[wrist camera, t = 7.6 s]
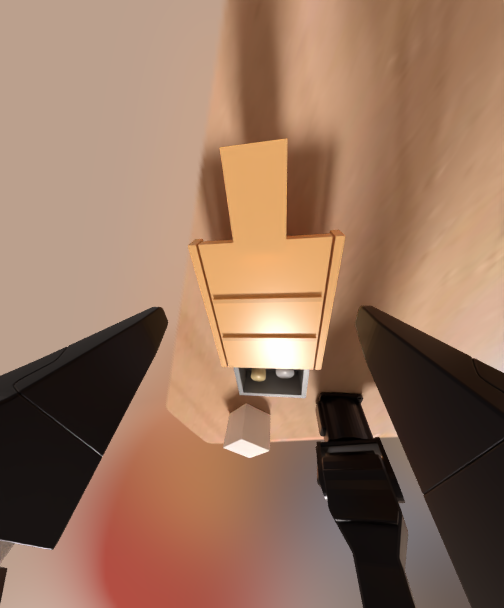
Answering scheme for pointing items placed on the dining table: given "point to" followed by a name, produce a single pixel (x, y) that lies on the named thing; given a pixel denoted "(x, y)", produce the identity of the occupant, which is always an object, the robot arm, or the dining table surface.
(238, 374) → the tub
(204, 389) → the dining table surface
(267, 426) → the white cube
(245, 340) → the lid
